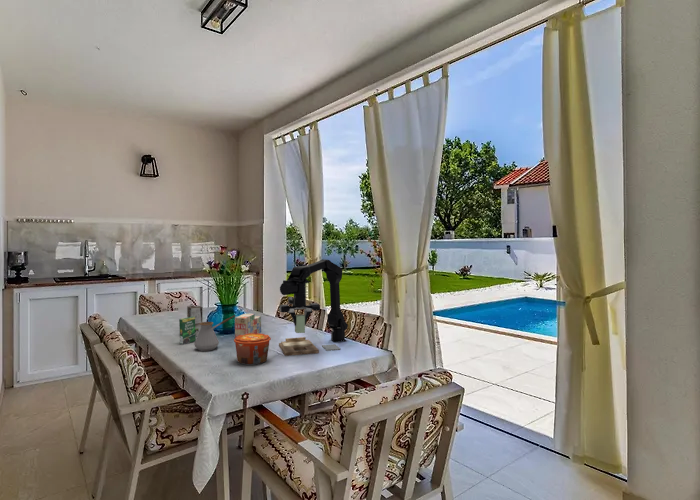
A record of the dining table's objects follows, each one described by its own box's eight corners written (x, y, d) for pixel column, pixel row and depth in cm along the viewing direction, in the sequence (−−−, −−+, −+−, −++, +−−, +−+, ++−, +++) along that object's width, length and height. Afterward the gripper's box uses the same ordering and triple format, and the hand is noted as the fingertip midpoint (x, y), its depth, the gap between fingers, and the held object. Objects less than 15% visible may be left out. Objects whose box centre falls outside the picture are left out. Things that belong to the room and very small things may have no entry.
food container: (276, 357, 196) (276, 333, 196) (261, 367, 181) (261, 342, 181) (244, 354, 200) (244, 332, 200) (227, 364, 185) (227, 340, 184)
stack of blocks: (251, 331, 249) (251, 310, 249) (261, 332, 248) (261, 310, 248) (234, 340, 228) (234, 317, 228) (245, 340, 227) (245, 317, 227)
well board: (309, 343, 221) (309, 340, 221) (318, 353, 203) (318, 349, 203) (278, 346, 216) (278, 343, 216) (285, 355, 198) (285, 352, 198)
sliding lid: (308, 341, 220) (308, 336, 220) (312, 345, 211) (312, 340, 211) (281, 343, 215) (281, 338, 215) (284, 347, 207) (284, 342, 207)
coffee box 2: (182, 344, 218) (182, 319, 218) (179, 344, 220) (178, 318, 219) (196, 341, 225) (195, 316, 224) (192, 340, 226) (192, 316, 226)
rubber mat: (335, 345, 217) (335, 344, 217) (340, 349, 209) (340, 348, 209) (321, 346, 215) (321, 345, 215) (326, 350, 207) (326, 349, 207)
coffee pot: (199, 353, 202) (199, 321, 202) (190, 348, 211) (190, 318, 210) (241, 346, 216) (241, 316, 216) (231, 341, 225) (231, 313, 224)
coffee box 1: (203, 336, 237) (202, 307, 237) (191, 337, 234) (190, 308, 233) (198, 333, 245) (198, 304, 245) (186, 334, 241) (186, 305, 241)
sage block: (303, 330, 207) (303, 314, 207) (304, 332, 204) (304, 315, 203) (294, 331, 206) (294, 314, 206) (296, 333, 202) (296, 316, 202)
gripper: (314, 290, 215) (314, 321, 215) (277, 291, 209) (277, 323, 210) (320, 293, 204) (320, 325, 205) (281, 294, 199) (281, 328, 199)
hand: (299, 325), depth 205 cm, fingers closed on sage block, 4 cm apart
